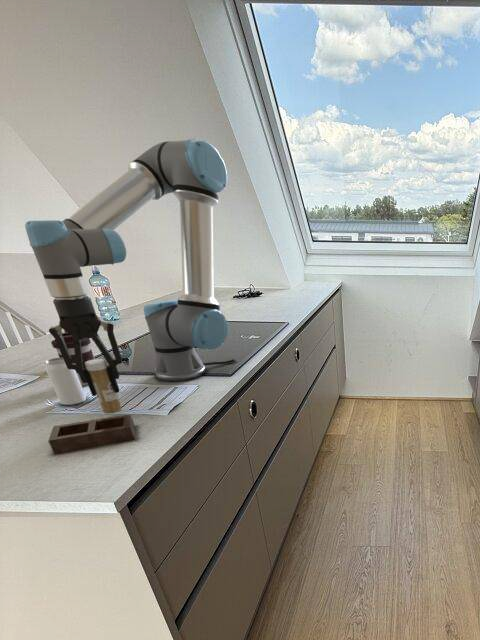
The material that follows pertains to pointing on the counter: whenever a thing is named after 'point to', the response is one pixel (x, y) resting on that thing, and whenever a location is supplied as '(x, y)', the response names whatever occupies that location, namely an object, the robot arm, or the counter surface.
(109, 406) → the sprinkles bottle
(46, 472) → the counter surface
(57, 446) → the holder
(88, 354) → the coffee cup
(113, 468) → the counter surface
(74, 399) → the can
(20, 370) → the counter surface
